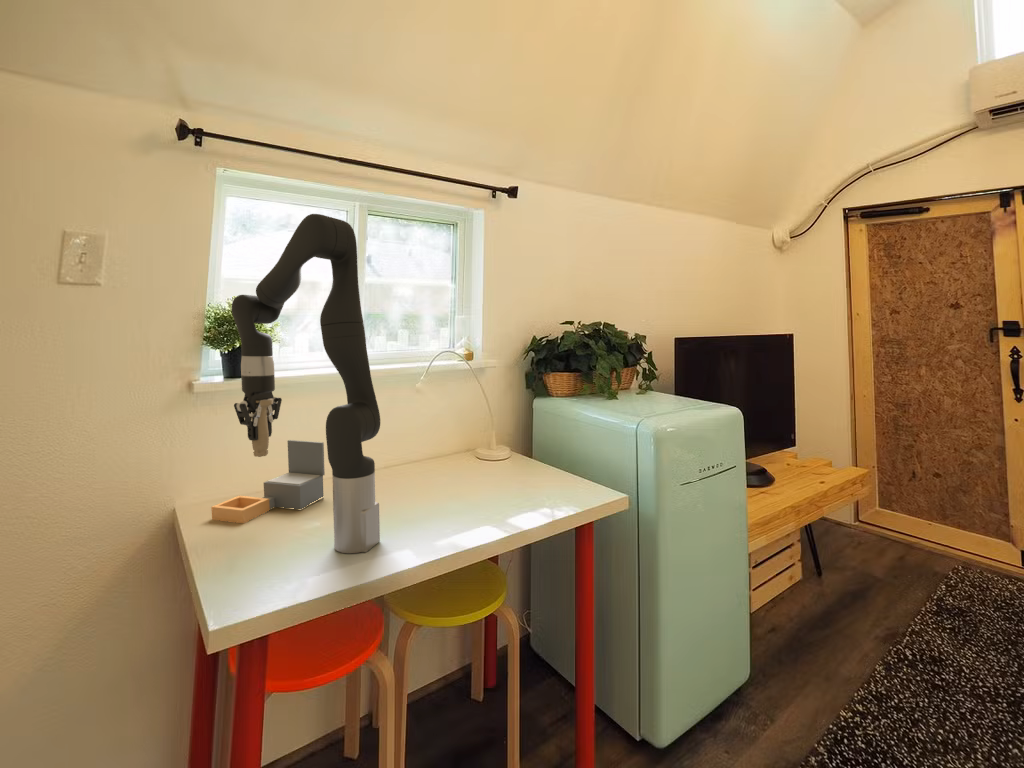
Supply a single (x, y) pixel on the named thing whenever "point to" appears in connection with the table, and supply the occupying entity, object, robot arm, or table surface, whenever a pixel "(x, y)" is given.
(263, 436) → the handle
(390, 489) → the table surface
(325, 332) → the robot arm
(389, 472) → the table surface
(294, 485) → the chair with orange tray
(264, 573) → the table surface
